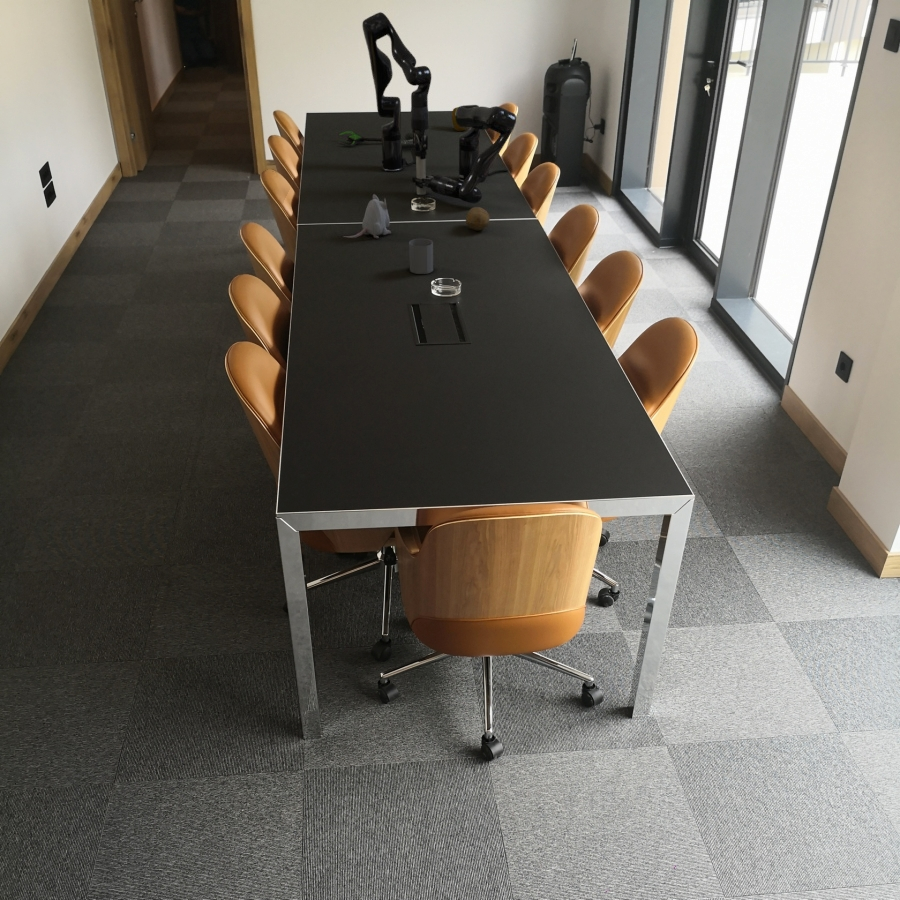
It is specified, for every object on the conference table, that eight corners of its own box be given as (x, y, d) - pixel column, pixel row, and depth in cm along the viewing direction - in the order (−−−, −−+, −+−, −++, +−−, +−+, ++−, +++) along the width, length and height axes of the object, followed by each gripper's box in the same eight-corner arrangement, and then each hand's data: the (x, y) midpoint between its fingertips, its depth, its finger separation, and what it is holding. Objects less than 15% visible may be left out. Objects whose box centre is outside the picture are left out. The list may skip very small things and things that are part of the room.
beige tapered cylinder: (422, 195, 385) (421, 153, 375) (414, 193, 387) (413, 151, 377) (428, 193, 388) (427, 151, 378) (420, 191, 390) (420, 150, 380)
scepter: (394, 128, 464) (338, 126, 462) (394, 143, 457) (337, 141, 455) (394, 137, 469) (338, 135, 467) (394, 152, 462) (337, 150, 460)
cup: (409, 265, 311) (408, 238, 306) (432, 265, 312) (431, 238, 307) (410, 274, 304) (409, 246, 299) (433, 273, 305) (433, 246, 299)
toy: (396, 233, 341) (395, 195, 333) (351, 248, 326) (349, 209, 318) (381, 228, 346) (379, 190, 338) (336, 243, 332) (333, 204, 324)
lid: (428, 155, 378) (428, 150, 377) (419, 157, 375) (419, 152, 374) (422, 153, 381) (422, 148, 380) (412, 154, 379) (412, 149, 378)
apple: (471, 132, 486) (471, 108, 479) (451, 132, 486) (451, 108, 479) (470, 128, 495) (471, 104, 488) (452, 128, 495) (452, 104, 488)
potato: (487, 223, 352) (488, 203, 348) (491, 234, 340) (491, 214, 336) (463, 223, 351) (463, 204, 347) (466, 235, 340) (466, 214, 335)
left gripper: (406, 114, 374) (407, 154, 383) (416, 121, 363) (417, 162, 372) (422, 113, 377) (423, 152, 386) (433, 120, 365) (433, 160, 374)
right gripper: (455, 174, 378) (428, 166, 388) (431, 180, 369) (404, 172, 380) (455, 191, 382) (428, 183, 392) (431, 197, 373) (405, 189, 384)
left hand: (420, 157), depth 379 cm, fingers open, 6 cm apart
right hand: (417, 178), depth 386 cm, fingers closed on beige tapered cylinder, 4 cm apart
